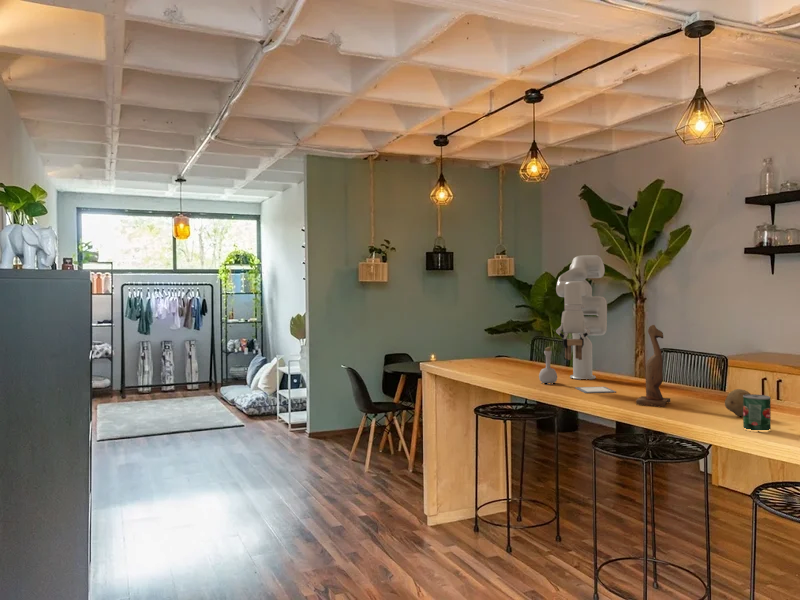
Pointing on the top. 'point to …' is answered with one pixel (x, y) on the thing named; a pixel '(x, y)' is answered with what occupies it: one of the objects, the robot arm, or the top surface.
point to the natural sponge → (736, 401)
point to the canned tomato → (756, 412)
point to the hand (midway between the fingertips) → (573, 347)
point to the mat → (595, 389)
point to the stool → (577, 349)
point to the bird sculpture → (654, 373)
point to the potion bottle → (548, 370)
